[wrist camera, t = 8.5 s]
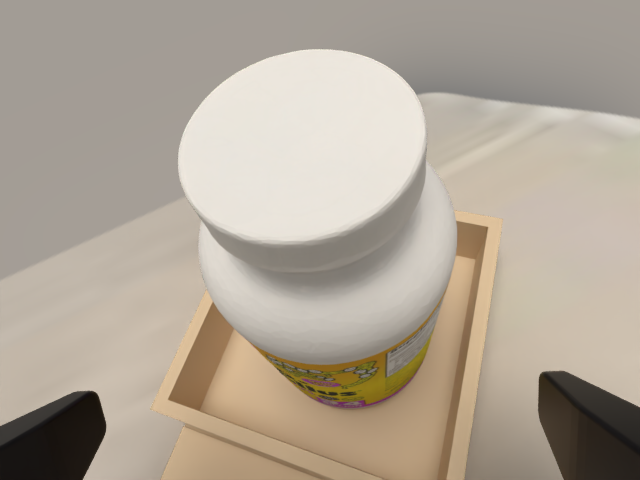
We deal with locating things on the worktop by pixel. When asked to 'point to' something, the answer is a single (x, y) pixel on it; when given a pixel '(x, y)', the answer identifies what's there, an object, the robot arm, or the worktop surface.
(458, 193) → the worktop surface
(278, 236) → the supplement bottle
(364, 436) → the mailer box
